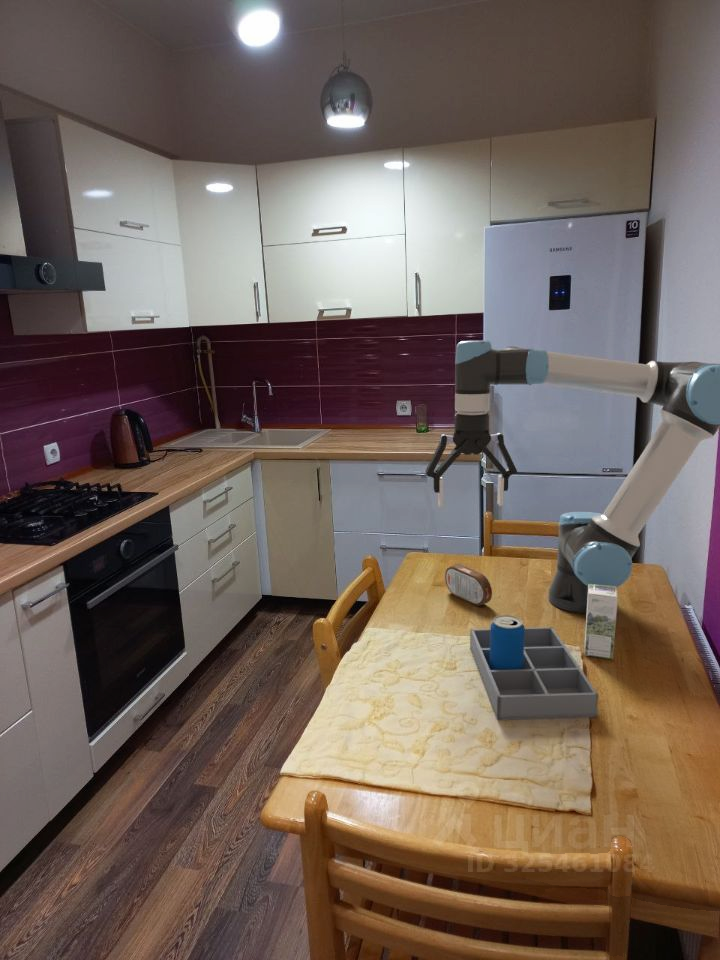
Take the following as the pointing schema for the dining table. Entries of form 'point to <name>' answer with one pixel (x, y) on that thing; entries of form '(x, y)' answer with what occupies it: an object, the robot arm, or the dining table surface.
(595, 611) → the syrup box
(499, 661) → the beverage can
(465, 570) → the tin
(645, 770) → the dining table surface
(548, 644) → the can crate
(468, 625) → the dining table surface
